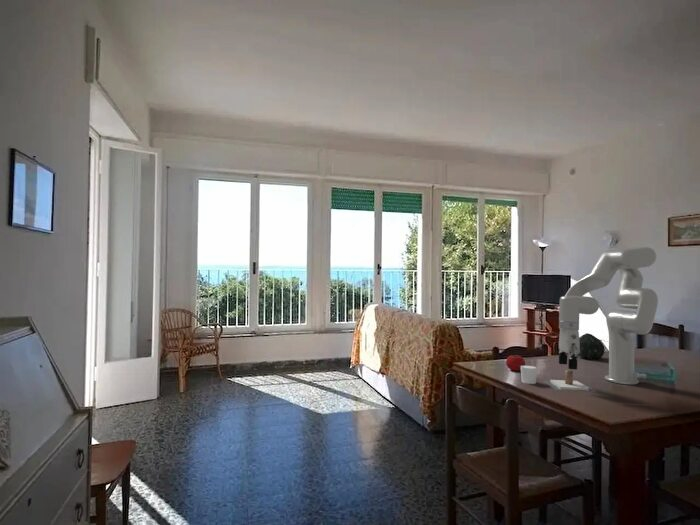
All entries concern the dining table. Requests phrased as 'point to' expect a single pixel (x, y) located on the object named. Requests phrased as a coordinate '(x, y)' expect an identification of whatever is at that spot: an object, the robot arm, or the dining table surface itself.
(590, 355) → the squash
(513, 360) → the tomato
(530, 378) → the white cylinder
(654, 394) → the dining table surface
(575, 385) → the lid
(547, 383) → the mat
